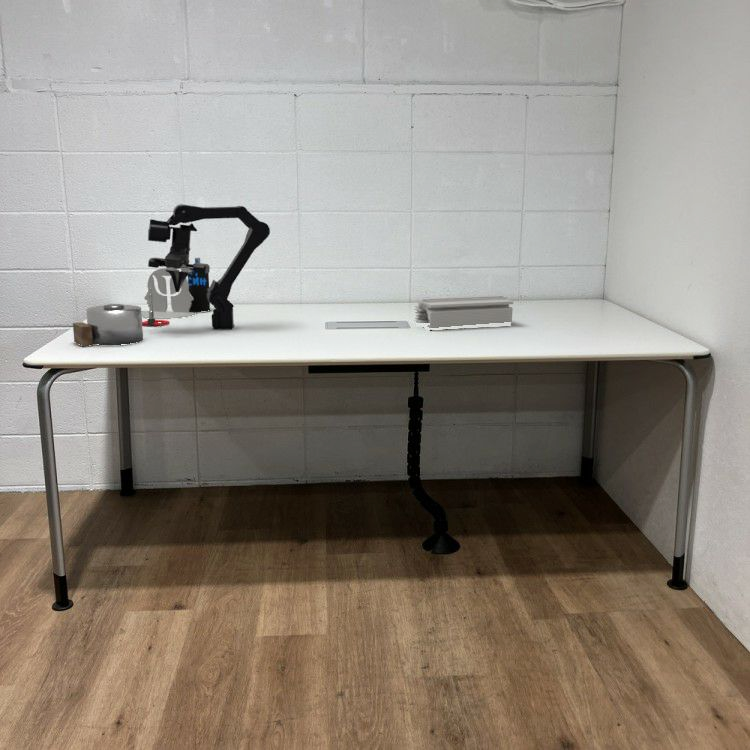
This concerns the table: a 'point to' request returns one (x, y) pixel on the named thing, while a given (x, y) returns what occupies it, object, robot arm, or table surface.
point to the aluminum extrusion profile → (463, 311)
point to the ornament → (178, 302)
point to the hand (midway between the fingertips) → (177, 292)
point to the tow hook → (151, 319)
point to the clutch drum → (115, 324)
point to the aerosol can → (199, 290)
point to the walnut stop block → (82, 334)
